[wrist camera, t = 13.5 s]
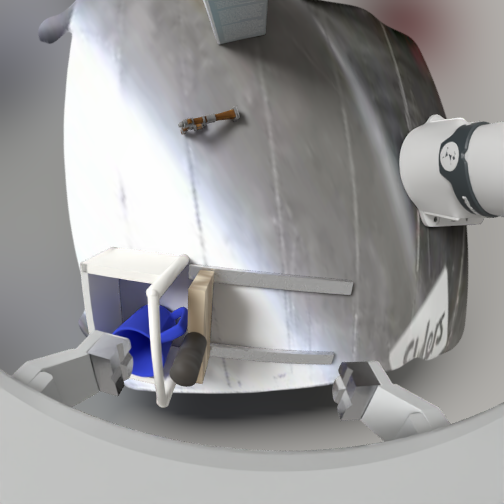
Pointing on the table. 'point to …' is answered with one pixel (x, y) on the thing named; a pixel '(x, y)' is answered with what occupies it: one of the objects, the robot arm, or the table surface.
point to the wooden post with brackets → (207, 120)
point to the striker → (195, 333)
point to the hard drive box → (237, 18)
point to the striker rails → (276, 283)
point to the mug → (140, 336)
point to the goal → (109, 306)
